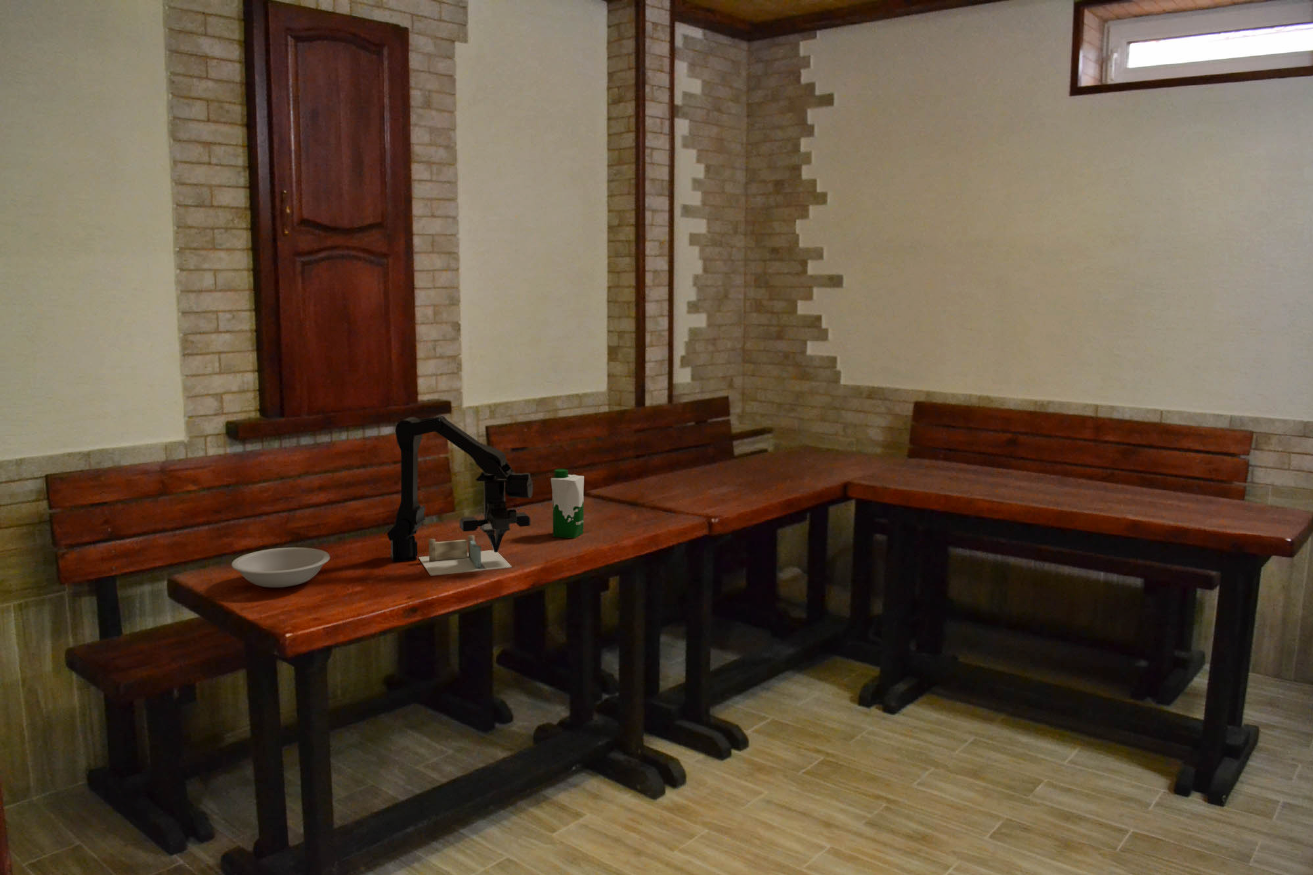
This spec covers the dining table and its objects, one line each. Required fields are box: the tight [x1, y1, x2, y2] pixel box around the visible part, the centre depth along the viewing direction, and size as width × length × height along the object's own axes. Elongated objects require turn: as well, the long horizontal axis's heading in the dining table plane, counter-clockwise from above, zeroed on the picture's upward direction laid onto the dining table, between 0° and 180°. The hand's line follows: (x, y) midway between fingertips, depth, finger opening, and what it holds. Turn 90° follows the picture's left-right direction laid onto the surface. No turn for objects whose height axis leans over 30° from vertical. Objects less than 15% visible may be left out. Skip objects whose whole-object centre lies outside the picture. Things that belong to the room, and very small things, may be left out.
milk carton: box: [550, 468, 585, 539], centre depth 337 cm, size 9×9×20 cm
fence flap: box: [470, 541, 482, 567], centre depth 306 cm, size 11×2×6 cm, turn 17°
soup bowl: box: [231, 547, 331, 588], centre depth 287 cm, size 24×24×7 cm
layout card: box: [418, 549, 512, 577], centre depth 308 cm, size 22×18×1 cm
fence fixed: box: [428, 534, 476, 561], centre depth 310 cm, size 13×2×6 cm, turn 112°
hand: (495, 552), depth 307 cm, fingers closed
